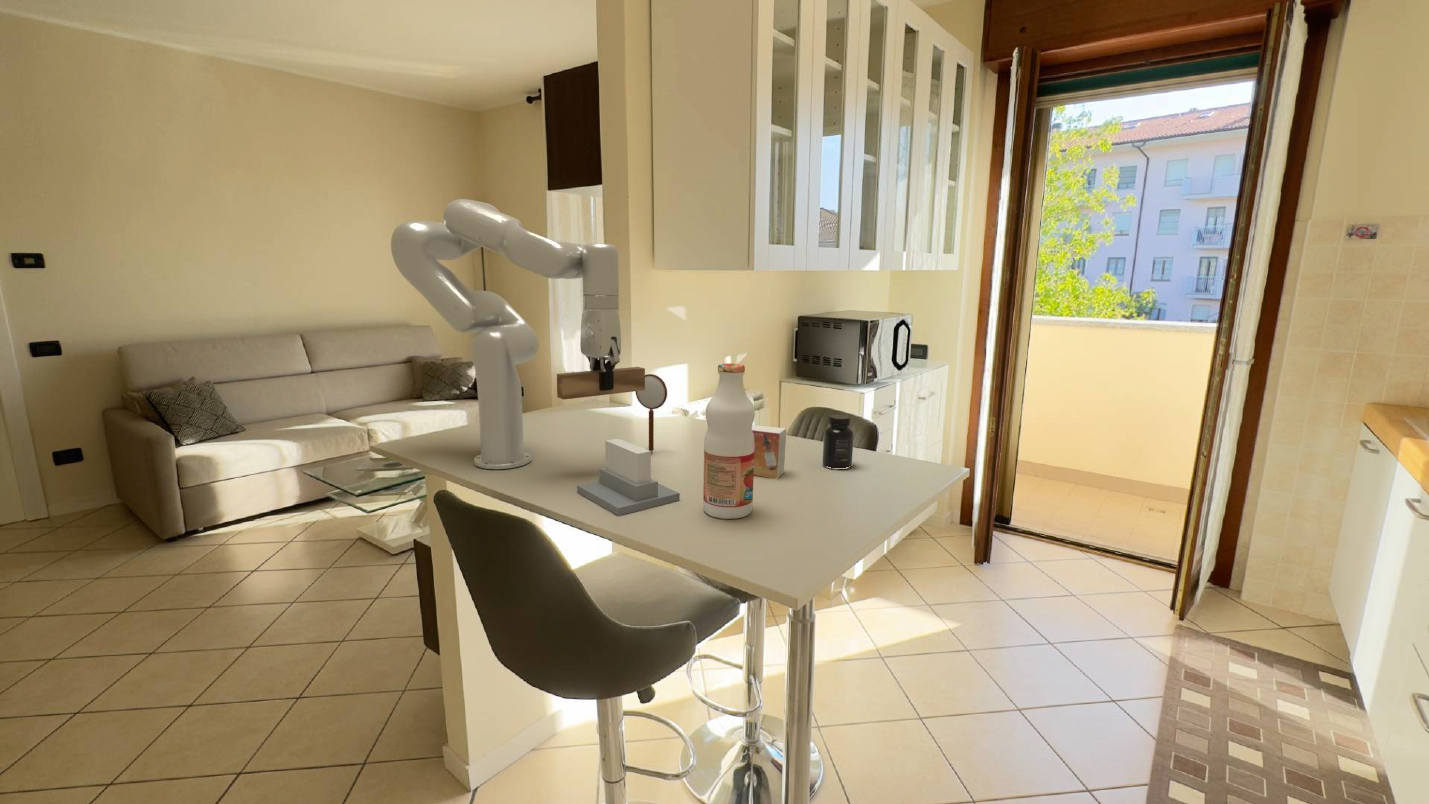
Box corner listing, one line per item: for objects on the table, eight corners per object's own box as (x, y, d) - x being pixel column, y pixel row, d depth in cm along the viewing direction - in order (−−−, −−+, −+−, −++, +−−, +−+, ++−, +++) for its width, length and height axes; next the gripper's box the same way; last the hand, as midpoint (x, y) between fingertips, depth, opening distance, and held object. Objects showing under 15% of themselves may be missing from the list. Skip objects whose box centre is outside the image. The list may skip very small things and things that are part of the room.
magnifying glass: (668, 455, 159) (668, 375, 155) (664, 457, 157) (665, 376, 153) (637, 450, 162) (637, 372, 158) (634, 452, 161) (633, 373, 157)
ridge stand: (577, 492, 131) (576, 442, 129) (635, 479, 140) (635, 432, 138) (618, 515, 119) (617, 461, 117) (679, 500, 128) (680, 449, 126)
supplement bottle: (855, 465, 154) (859, 416, 151) (845, 472, 148) (848, 421, 146) (829, 460, 157) (831, 412, 155) (817, 467, 152) (820, 417, 149)
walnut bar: (557, 397, 136) (556, 373, 135) (637, 388, 148) (637, 366, 147) (563, 399, 133) (563, 375, 132) (644, 390, 146) (644, 368, 145)
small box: (743, 474, 145) (744, 429, 143) (751, 467, 150) (753, 423, 148) (777, 479, 142) (779, 433, 140) (784, 472, 147) (786, 427, 145)
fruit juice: (698, 503, 126) (700, 361, 120) (744, 501, 128) (749, 361, 123) (708, 521, 117) (711, 369, 111) (758, 518, 119) (763, 368, 114)
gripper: (567, 302, 141) (569, 385, 144) (605, 305, 128) (606, 396, 132) (597, 301, 145) (598, 382, 149) (636, 305, 133) (637, 392, 137)
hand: (602, 388), depth 140 cm, fingers closed on walnut bar, 2 cm apart
